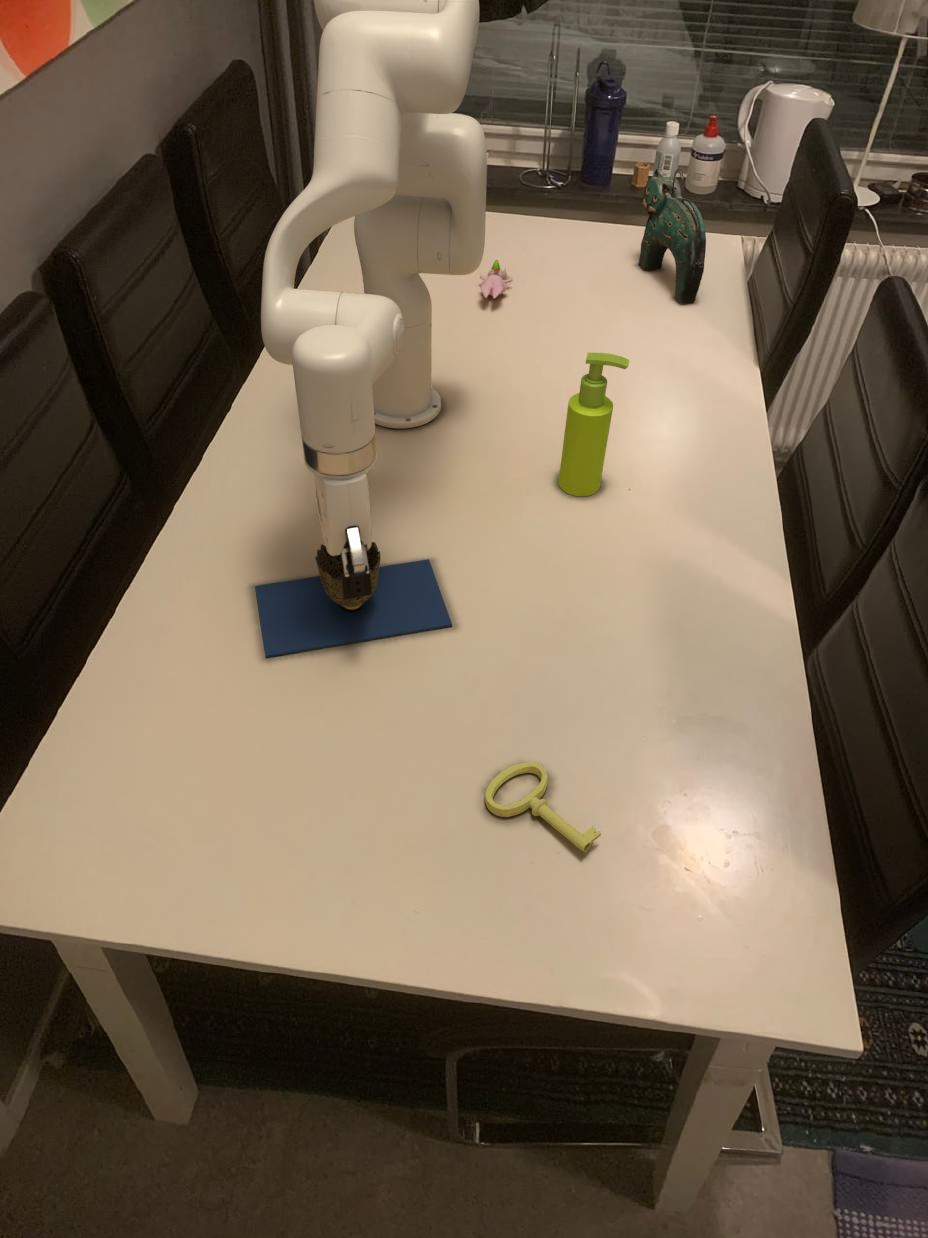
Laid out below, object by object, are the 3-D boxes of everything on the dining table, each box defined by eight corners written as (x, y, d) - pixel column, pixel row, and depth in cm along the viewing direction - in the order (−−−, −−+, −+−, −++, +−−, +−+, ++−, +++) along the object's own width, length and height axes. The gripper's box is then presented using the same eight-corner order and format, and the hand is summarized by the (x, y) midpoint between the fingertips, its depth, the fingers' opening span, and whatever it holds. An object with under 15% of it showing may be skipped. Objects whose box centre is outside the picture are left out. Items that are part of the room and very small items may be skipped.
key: (588, 863, 87) (590, 851, 86) (475, 806, 91) (476, 794, 90) (617, 808, 92) (620, 795, 90) (509, 756, 96) (510, 744, 94)
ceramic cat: (629, 261, 181) (646, 154, 167) (658, 258, 183) (678, 152, 169) (674, 307, 168) (697, 195, 154) (706, 303, 170) (731, 192, 155)
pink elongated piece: (481, 282, 176) (472, 305, 164) (483, 249, 172) (473, 271, 160) (513, 285, 176) (506, 308, 163) (516, 252, 172) (509, 274, 160)
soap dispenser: (605, 500, 127) (627, 371, 113) (555, 493, 128) (572, 364, 114) (608, 475, 131) (631, 348, 117) (561, 468, 132) (577, 341, 118)
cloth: (255, 588, 113) (254, 585, 112) (429, 561, 117) (429, 559, 117) (266, 658, 104) (265, 655, 104) (452, 626, 109) (452, 624, 109)
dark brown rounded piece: (392, 592, 112) (390, 542, 106) (368, 632, 107) (365, 582, 102) (336, 577, 114) (332, 527, 108) (310, 616, 109) (304, 566, 103)
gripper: (292, 404, 99) (307, 523, 112) (315, 504, 88) (330, 624, 100) (360, 396, 101) (367, 515, 113) (392, 493, 89) (396, 613, 102)
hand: (350, 566), depth 107 cm, fingers open, 9 cm apart
